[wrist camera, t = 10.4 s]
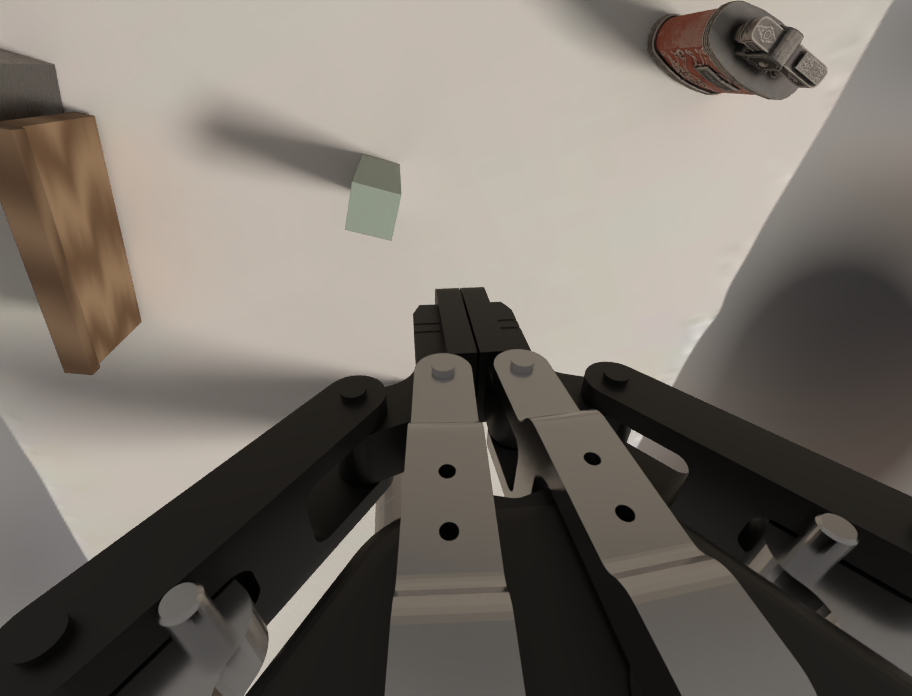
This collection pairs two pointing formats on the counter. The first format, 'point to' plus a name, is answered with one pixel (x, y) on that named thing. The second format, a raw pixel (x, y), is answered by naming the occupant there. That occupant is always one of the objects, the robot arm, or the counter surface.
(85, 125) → the gate
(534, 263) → the counter surface
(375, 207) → the latch post
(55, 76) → the hinge post
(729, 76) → the lighter
